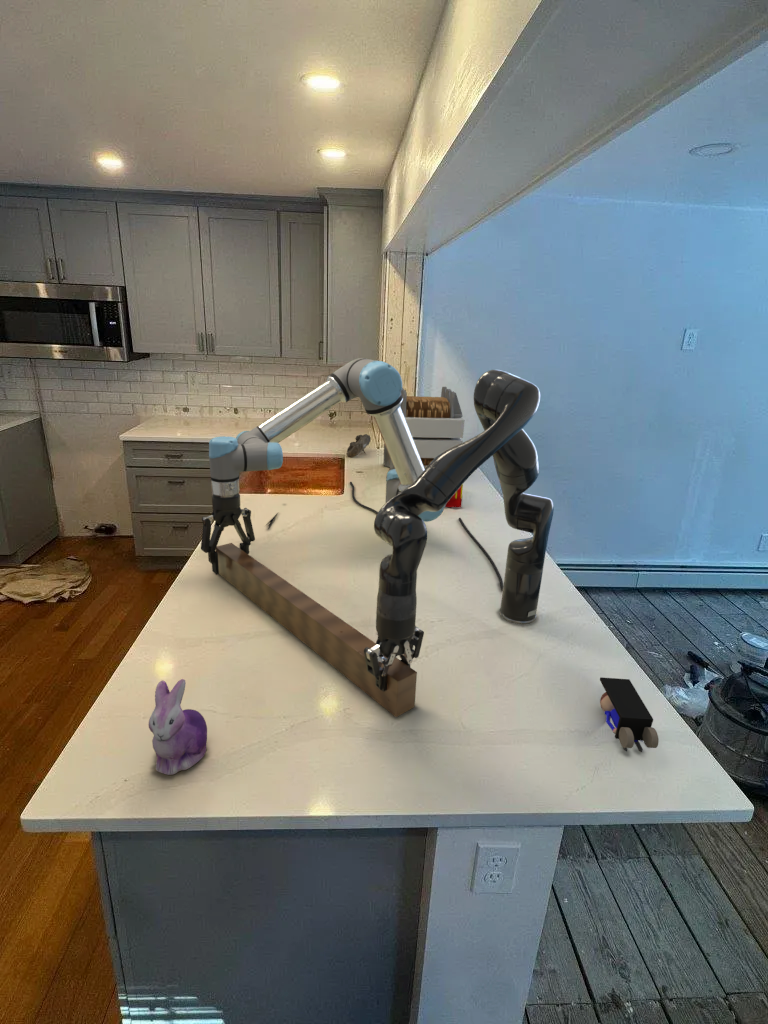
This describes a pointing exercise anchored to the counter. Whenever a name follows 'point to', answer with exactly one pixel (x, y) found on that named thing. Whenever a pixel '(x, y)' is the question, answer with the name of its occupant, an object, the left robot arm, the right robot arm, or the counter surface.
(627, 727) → the figurine character
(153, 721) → the figurine
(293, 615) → the beam
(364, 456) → the counter surface
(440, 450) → the transformer
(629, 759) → the counter surface
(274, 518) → the feather
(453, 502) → the red striped box
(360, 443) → the fossil
